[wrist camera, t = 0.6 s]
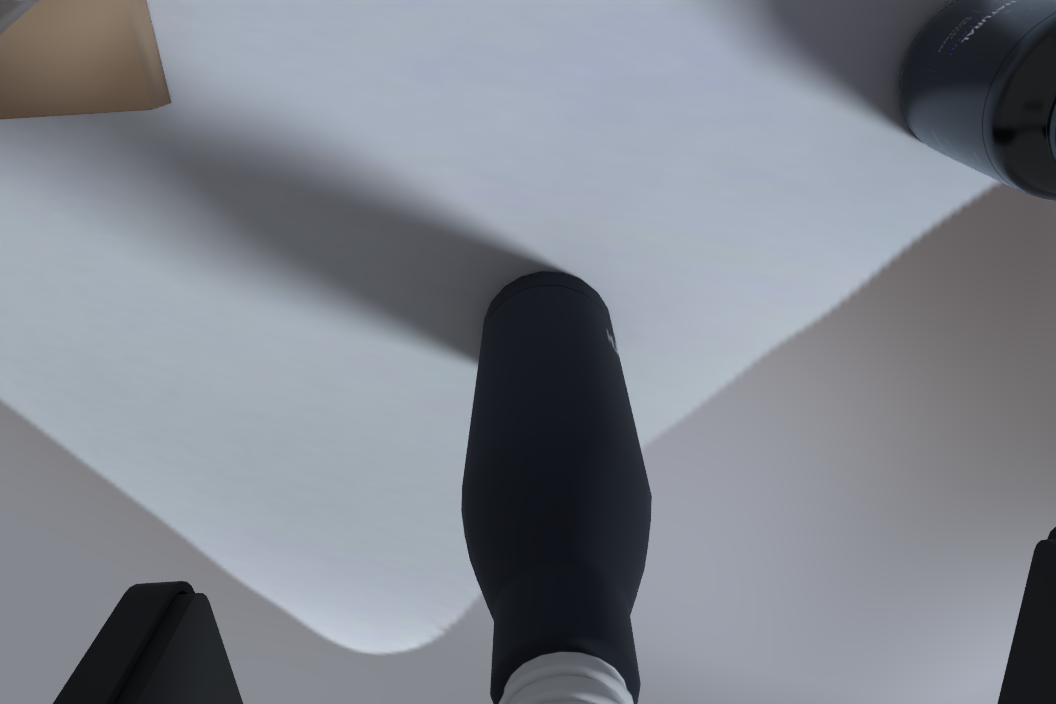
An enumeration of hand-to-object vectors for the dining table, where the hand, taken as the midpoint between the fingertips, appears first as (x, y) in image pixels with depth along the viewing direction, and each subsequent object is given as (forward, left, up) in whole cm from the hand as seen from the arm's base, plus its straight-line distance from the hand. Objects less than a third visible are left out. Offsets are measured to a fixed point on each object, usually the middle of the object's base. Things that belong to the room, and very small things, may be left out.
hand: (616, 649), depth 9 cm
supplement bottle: (-2, +18, -30) cm, 35 cm away
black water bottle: (+9, -1, -30) cm, 31 cm away
